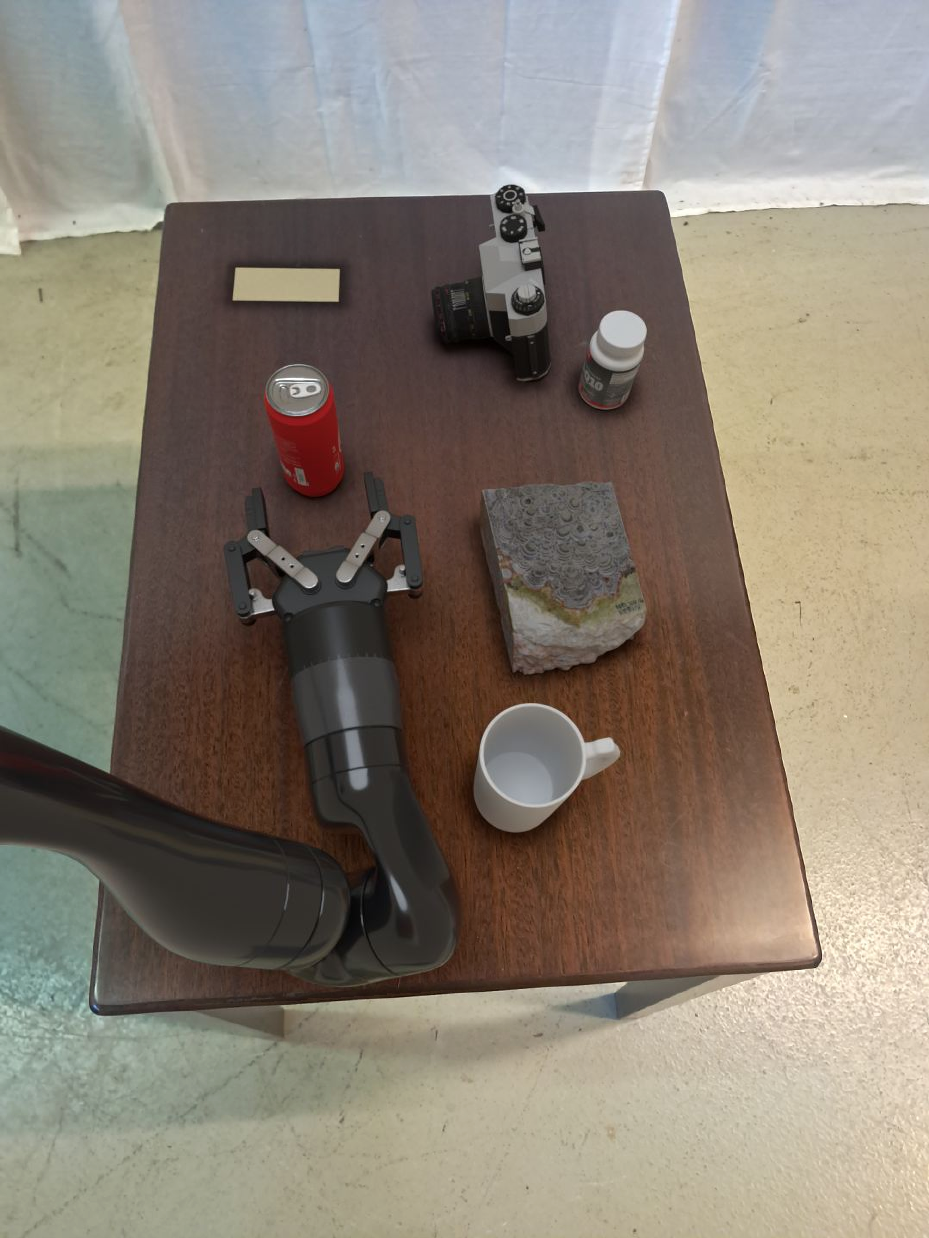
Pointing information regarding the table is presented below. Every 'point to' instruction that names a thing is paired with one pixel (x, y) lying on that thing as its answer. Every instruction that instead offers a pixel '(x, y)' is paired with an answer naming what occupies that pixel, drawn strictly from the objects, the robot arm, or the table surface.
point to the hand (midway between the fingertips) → (313, 484)
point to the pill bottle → (613, 360)
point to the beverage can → (305, 429)
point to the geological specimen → (560, 573)
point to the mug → (533, 765)
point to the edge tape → (286, 285)
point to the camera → (503, 289)
